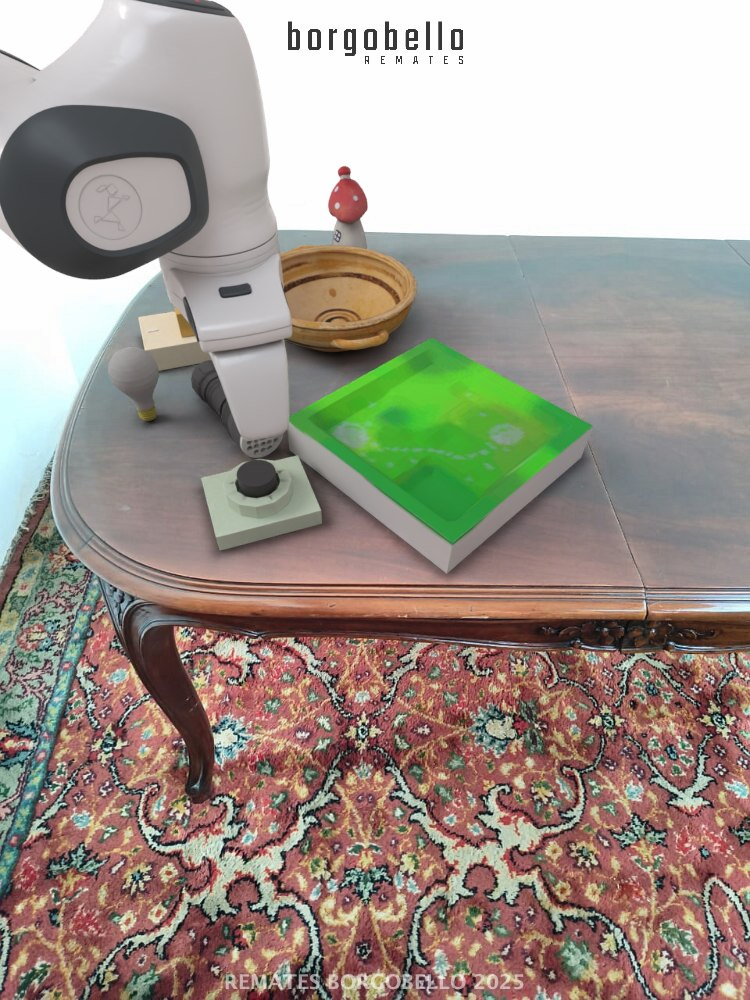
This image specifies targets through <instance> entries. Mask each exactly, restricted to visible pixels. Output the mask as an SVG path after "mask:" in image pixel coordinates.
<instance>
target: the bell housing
mask: <svg viewBox="0 0 750 1000" xmlns="http://www.w3.org/2000/svg"><path fill="white" fill-rule="evenodd" d="M255 460H265V461H268V462H270V463H271V464H272V465H273V466H274V467H275V470H276V477H277V487H276V489H275V490H274V491H273V492H272V493H271V494H269V495H267V496H265V497H260V498H251V497H248V496H245V495H244V494H243V493H242V492H241V491H240V489H239V485H238V480H237V471H238V469H239V467H240V466H241V465H243V464H244V463H246V462H248V461H249V460H248V461H243V462H240V464H238V465H237V466H235V467H234V468H232V469H230V470H227V471H224V472H219V473H216V474H211V475H207V476H202V477H201V478H200V480H201V483H202V488H203V492H204V496H205V500H206V504H207V508H208V511H209V515H210V519H211V524H212V527H213V533H214V535H215V539H216V544H217V547H218V550H219V552H220V551H224V550H229V549H233V548H236V547H240V546H244V545H248V544H251V543H254V542H259V541H262V540H266V539H270V538H274V537H277V536H282V535H285V534H288V533H292V532H296V531H300V530H304V529H307V528H312V527H315V526H319V525H322V524H323V517H322V516H323V515H322V509H321V506H320V504H319V502H318V499H317V497H316V494H315V492H314V490H313V487H312V484H311V482H310V480H309V478H308V476H307V473H306V471H305V469H304V466H303V464H302V460H301V459H300V458H299V456H298V455H297V456H296V455H293V456H289V457H284V458H280V459H276V460H271V459H264V458H255Z"/></svg>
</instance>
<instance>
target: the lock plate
mask: <svg viewBox="0 0 750 1000" xmlns="http://www.w3.org/2000/svg"><path fill="white" fill-rule="evenodd" d="M138 324H139V327H140V328H139V329H140V334H141V338H142V343H143V348H144V350H145V351H147V352H148V353H149V354H150V355H151V356H152V357H153V358H154V360H155V361H156V363H157V366H158V369H159V372H161V371H165V370H171V369H178V368H183V367H188V366H194V365H199V364H200V363H202V362H204V361H207V360H212V359H211V357H210V355H209V353H208V352H203V351H202V349H201V347H200V344H199V342H197V339H196V337H195V335H194V336H188V337H181V333H180V329H179V325H178V321H177V317H176V313H175V310H174V311H168V312H163V313H155V314H149V315H148V314H147V315H143V316H138Z"/></svg>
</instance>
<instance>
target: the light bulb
mask: <svg viewBox="0 0 750 1000" xmlns="http://www.w3.org/2000/svg"><path fill="white" fill-rule="evenodd" d="M107 372H108V376H109V378H110V381H111V383H112V384H113V386H114V387H115V388H116V389H118V390H119V391H120V392H121V393H123V394H124V395H125V396H127V397H128V398H129V399H131V400H132V402H133V404H134V407H135V409H136V410H137V414H138V416H139V417H138V418H139V419H140V420H142V421H144V422H150V421H152V420H153V421H154V419H156V418H157V415H158V413H157V410H156V406H155V400H154V393H155V389H156V387H157V384H158V382H159V379H160V378H159V377H160V371H159V369H158V366H157V363H156V361H155V360H154V358H153V357H152V356H151V355H150V354H149V353H148V352H147V351H145V349H143V348H140V347H135V346H127V347H122V348H121V349H118V350H116V351H115V352H114V353H113V355H112V356H111V358H110V359H109V362H108V371H107Z"/></svg>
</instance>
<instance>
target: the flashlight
mask: <svg viewBox="0 0 750 1000" xmlns="http://www.w3.org/2000/svg"><path fill="white" fill-rule="evenodd" d="M190 381H191V387H192V389H193V391H194V392H195V394H197V396H198V397H199V399H200V400H202V402H204V403H206V404H208V405H209V406H210V408H211V409H212V410H214V411H215V412H216V413H217V414H218V415H219V416H220V417H221V423H222V424H223V426H224V427H225V429H226V430H227V431H228V432H229V434H230V437H231V439H232V440H233V441H234V442H235V443H236V445H237V446H238V447H239V448H240V450H241V451H242V452H243V453H244V454H245V456H247V457H249V458H254V459H261V458H264V457H266V456H268V455H270V454H272V453H273V452H274V451H275V450H276V449H277V448H278V447H279V446H280V444H281V443H282V441H283V438H284V433H283V434H280V435H276V436H272V437H268V438H264V439H259V440H254V441H246V440H244V439H243V438H242V437H241V435H240V433H239V431H238V429H237V426H236V424H235V421H234V418H233V416H232V413H231V410H230V407H229V404H228V402H227V399H226V396H225V393H224V391H223V388H222V385H221V382H220V379H219V377H218V374H217V372H216V369H215V366H214V364H213V362H212V360H207V361H204V362H202V363H199V364H196V366H195V367H194V369H193V371H192V372H191V377H190Z"/></svg>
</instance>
